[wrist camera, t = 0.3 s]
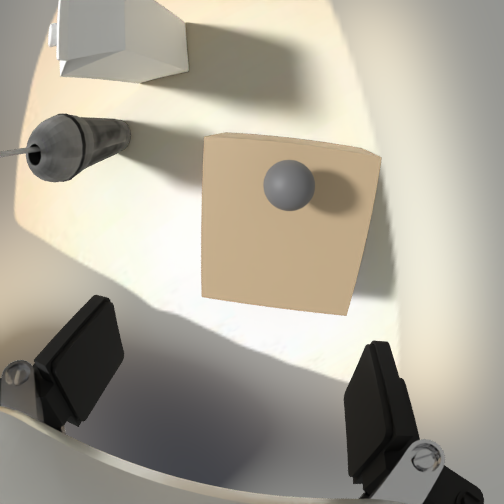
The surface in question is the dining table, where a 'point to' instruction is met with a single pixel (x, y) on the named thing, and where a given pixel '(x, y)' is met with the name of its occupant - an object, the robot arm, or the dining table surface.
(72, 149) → the beverage cup
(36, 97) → the dining table surface
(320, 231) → the flap
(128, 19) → the milk carton
